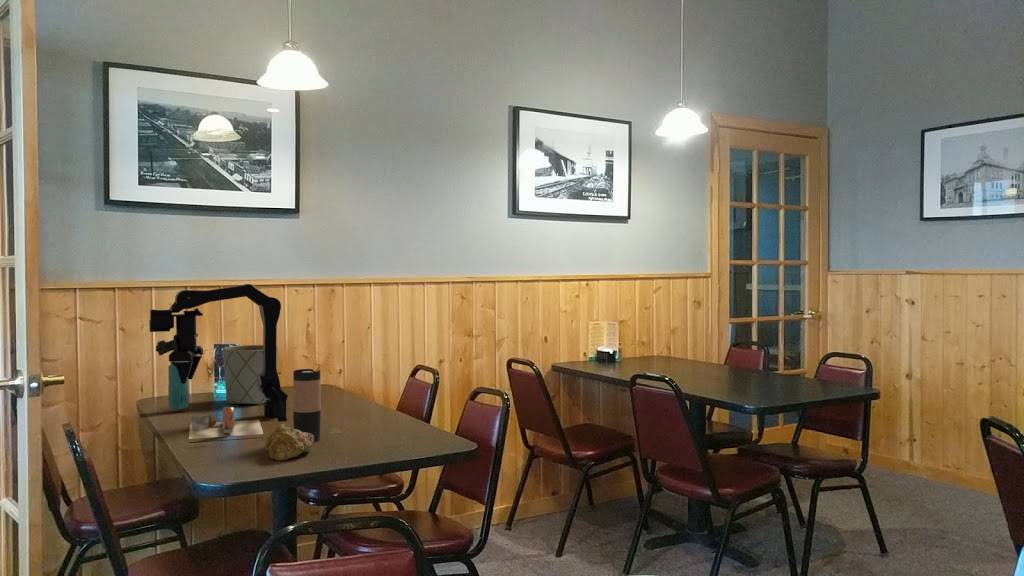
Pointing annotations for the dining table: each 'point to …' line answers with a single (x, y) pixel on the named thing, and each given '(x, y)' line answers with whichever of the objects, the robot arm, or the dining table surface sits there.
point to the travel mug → (307, 401)
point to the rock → (288, 443)
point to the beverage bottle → (177, 389)
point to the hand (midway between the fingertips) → (186, 381)
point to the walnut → (212, 420)
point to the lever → (228, 419)
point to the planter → (244, 373)
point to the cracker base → (221, 428)
